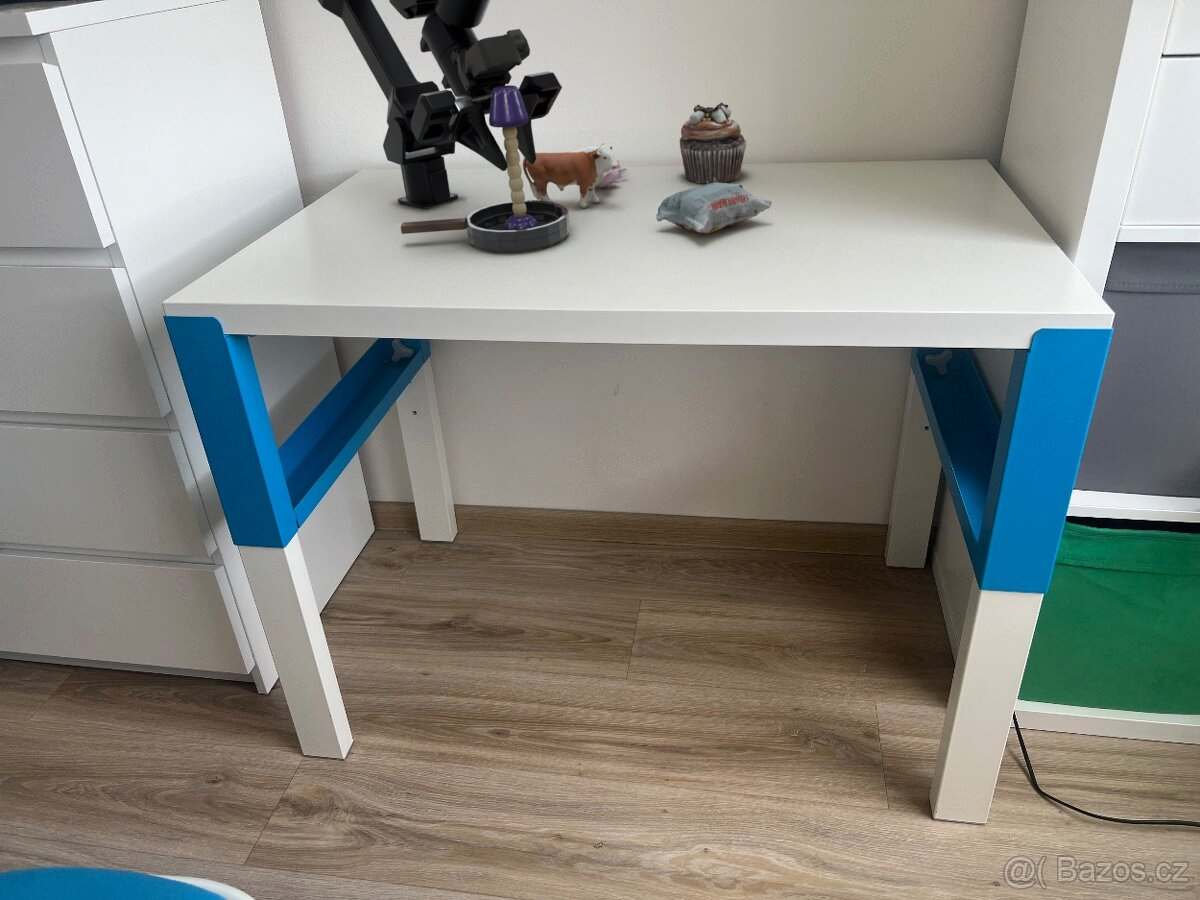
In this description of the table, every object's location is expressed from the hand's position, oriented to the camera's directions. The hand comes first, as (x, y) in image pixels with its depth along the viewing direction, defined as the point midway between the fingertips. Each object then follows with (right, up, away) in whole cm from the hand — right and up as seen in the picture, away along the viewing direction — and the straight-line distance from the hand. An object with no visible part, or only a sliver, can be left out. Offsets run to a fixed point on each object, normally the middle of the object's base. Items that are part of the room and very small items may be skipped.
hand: (519, 165), depth 104 cm
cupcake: (+26, +6, +25) cm, 37 cm away
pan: (-1, -7, +6) cm, 9 cm away
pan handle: (-11, -6, +5) cm, 14 cm away
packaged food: (+24, -6, +5) cm, 25 cm away
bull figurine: (+6, 0, +17) cm, 18 cm away
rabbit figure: (+10, +5, +24) cm, 27 cm away
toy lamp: (0, -6, +5) cm, 8 cm away
